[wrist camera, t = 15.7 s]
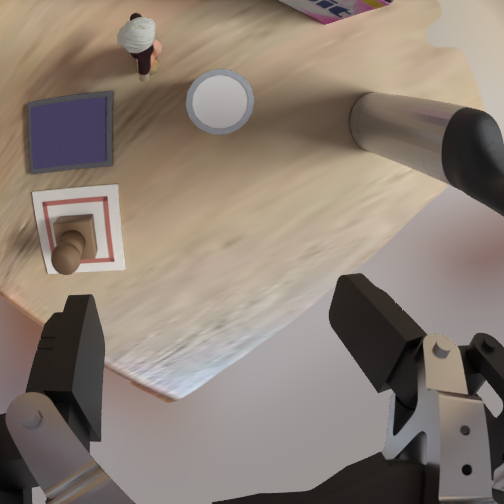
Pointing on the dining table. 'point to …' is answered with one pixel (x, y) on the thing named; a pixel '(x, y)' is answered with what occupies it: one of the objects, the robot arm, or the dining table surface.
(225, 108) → the shot glass
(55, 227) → the stamp
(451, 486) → the robot arm
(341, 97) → the dining table surface
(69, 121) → the ink pad
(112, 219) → the print card
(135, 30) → the grandmother figurine
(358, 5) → the gum box
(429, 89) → the dining table surface
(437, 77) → the dining table surface
